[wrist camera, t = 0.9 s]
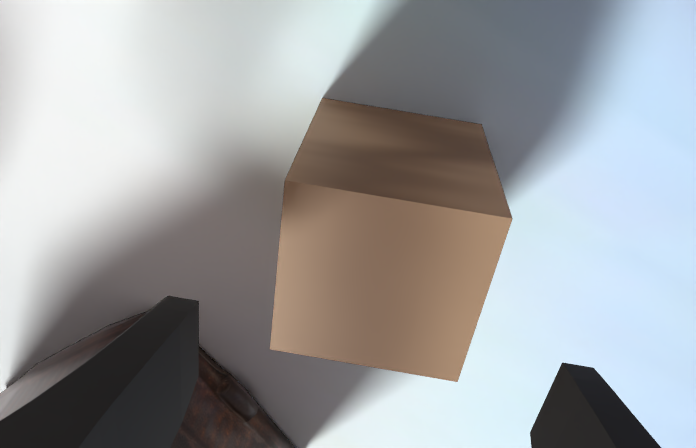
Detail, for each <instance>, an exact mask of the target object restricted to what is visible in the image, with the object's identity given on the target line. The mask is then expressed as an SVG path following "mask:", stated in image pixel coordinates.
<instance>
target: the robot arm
mask: <svg viewBox="0 0 696 448" xmlns="http://www.w3.org/2000/svg"><path fill="white" fill-rule="evenodd" d="M198 376H199V301H196V300H190V299H184V298H178V297H172V296H167V297H166V298H164V299H163V300H161V301H160V302H159V303H158V304H157V305H155V306H154V307H153V308H152V309H151V310H149V311H148V312H147V313H146V314H145V315H143V316H142V317H141V318H140V319H139V320H137V321H136V322H135V323H134V324H133V325H131V326H130V327H129V328H128V329H126V330H125V331H124V332H123V333H121V334H120V335H119V336H118V337H117V338H115V339H114V340H113V341H112V342H110V343H109V344H108V345H106V346H105V347H104V348H102V349H101V350H100V351H99V352H97V353H96V354H95V355H93V356H92V357H91V358H90V359H88V360H87V361H86V362H84V363H83V364H82V365H80V366H79V367H78V368H76V369H75V370H74V371H72V372H71V373H70V374H68V375H67V376H65V377H64V378H62V379H61V380H60V381H58V382H57V383H55V384H54V385H53V386H51V387H50V388H48V389H47V390H45V391H44V392H43V393H41V394H40V395H38V396H37V397H36V398H34V399H33V400H31V401H30V402H28V403H27V404H25V405H24V406H22V407H20V408H19V409H17V410H16V411H14V412H13V413H11V414H10V415H8V416H7V417H5V418H3V419H2V420H0V448H170V447H171V445H172V443H173V441H174V439H175V437H176V435H177V432H178V430H179V428H180V426H181V424H182V421H183V419H184V416H185V413H186V410H187V408H188V405H189V402H190V399H191V396H192V393H193V391H194V388H195V385H196V382H197V379H198ZM530 436H531V446H532V448H661V447H660V446H659V445H658V443H657V442H656V441H655V440H654V439H653V438H652V436H651V435H650V434H649V433H648V432H647V430H646V429H645V428H644V427H643V426H642V424H641V423H640V422H639V421H638V420H637V419H636V417H635V416H634V415H633V414H632V413H631V411H630V410H629V409H628V408H627V407H626V405H625V404H624V403H623V402H622V401H621V399H620V398H619V397H618V396H617V395H616V393H615V392H614V391H613V390H612V389H611V387H610V386H609V385H608V384H607V383H606V382H605V380H604V379H603V378H602V377H601V376H600V375H599V374H598V372H597V371H596V370H595V369H594V368H591V367H585V366H579V365H573V364H568V363H562V364H561V367H560V369H559V371H558V373H557V375H556V377H555V380H554V382H553V384H552V386H551V388H550V390H549V393H548V395H547V397H546V399H545V401H544V403H543V406H542V408H541V410H540V412H539V414H538V417H537V419H536V421H535V423H534V425H533V427H532V430H531V432H530Z"/></svg>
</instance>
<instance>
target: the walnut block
mask: <svg viewBox="0 0 696 448" xmlns="http://www.w3.org/2000/svg"><path fill="white" fill-rule="evenodd" d="M511 221H512V216H511V213H510V210H509V207H508V204H507V201H506V198H505V195H504V191H503V188H502V185H501V182H500V179H499V176H498V173H497V170H496V167H495V164H494V161H493V158H492V155H491V152H490V149H489V146H488V143H487V140H486V136H485V133H484V130H483V127H482V124H476V123H470V122H464V121H458V120H452V119H446V118H440V117H434V116H428V115H422V114H416V113H410V112H404V111H398V110H392V109H386V108H380V107H374V106H368V105H362V104H356V103H350V102H344V101H338V100H332V99H326V98H322V100H321V102H320V104H319V106H318V108H317V111H316V113H315V115H314V117H313V119H312V122H311V124H310V126H309V128H308V130H307V133H306V135H305V137H304V139H303V141H302V144H301V146H300V148H299V150H298V152H297V155H296V157H295V159H294V161H293V163H292V166H291V168H290V170H289V172H288V174H287V177H286V179H285V184H284V195H283V206H282V218H281V229H280V240H279V251H278V263H277V274H276V285H275V296H274V308H273V319H272V330H271V341H270V349H271V350H276V351H282V352H288V353H294V354H300V355H305V356H311V357H317V358H323V359H328V360H334V361H340V362H346V363H351V364H357V365H363V366H369V367H375V368H380V369H386V370H392V371H398V372H403V373H409V374H415V375H421V376H426V377H432V378H438V379H444V380H450V381H455V382H458V379H459V376H460V373H461V370H462V367H463V364H464V361H465V358H466V355H467V352H468V349H469V346H470V343H471V340H472V337H473V334H474V331H475V328H476V325H477V322H478V319H479V316H480V313H481V310H482V307H483V304H484V301H485V299H486V296H487V293H488V290H489V287H490V284H491V281H492V278H493V275H494V272H495V269H496V266H497V263H498V260H499V257H500V254H501V251H502V248H503V245H504V242H505V239H506V236H507V233H508V230H509V227H510V224H511Z"/></svg>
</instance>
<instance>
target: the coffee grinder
mask: <svg viewBox="0 0 696 448" xmlns="http://www.w3.org/2000/svg"><path fill="white" fill-rule="evenodd" d="M146 313H147V312H145V313H142V314H139V315H137V316H134V317H131V318H128V319H126V320H123V321H120V322H117V323H114V324H112V325H109V326H107V327H105V328H103V329H101V330H99V331H97V332H96V333H94V334H92V335H90V336H88V337H86V338H84V339H82V340H80V341H79V342H77V343H75V344H73V345H71V346H69V347H67V348H66V349H64V350H62V351H60V352H58V353H56V354H55V355H53V356H51V357H49V358H47V359H45V360H44V361H42V362H40V363H38V364H37V365H35V366H34V367H33V368H32V369H31V370H29V371H28V372H27V373H26V374H25V375H23V376H22V377H21V378H20V379H19V380H17V381H16V382H15V383H13V384H12V385H11V386H9V387H8V388H7V389H5V390H4V391H3V392H1V393H0V420H2V419H3V418H5V417H7V416H8V415H10V414H11V413H13V412H14V411H16V410H17V409H19V408H20V407H22V406H24V405H25V404H27V403H28V402H30V401H31V400H33V399H34V398H36V397H37V396H38V395H40V394H41V393H43V392H44V391H45V390H47V389H48V388H50V387H51V386H53V385H54V384H55V383H57V382H58V381H60V380H61V379H62V378H64V377H65V376H67V375H68V374H70V373H71V372H72V371H74V370H75V369H76V368H78V367H79V366H80V365H82V364H83V363H84V362H86V361H87V360H88V359H90V358H91V357H92V356H93V355H95V354H96V353H97V352H99V351H100V350H101V349H102V348H104V347H105V346H106V345H108V344H109V343H110V342H112V341H113V340H114V339H115V338H117V337H118V336H119V335H120V334H121V333H123V332H124V331H125V330H126V329H128V328H129V327H130V326H131V325H133V324H134V323H135V322H136V321H137V320H139V319H140V318H141V317H142V316H143V315H145V314H146ZM170 448H295V447H294V446H293V445H292V444H291V443H290V441H289V440H288V439H287V438H286V437H285V436H284V434H283V433H282V432H281V431H280V430H279V429H278V428H277V426H276V425H275V424H274V423H273V422H272V421H271V419H270V418H269V417H268V416H267V415H266V413H265V412H264V411H263V410H262V409H261V407H260V406H259V405H258V404H257V402H256V401H255V400H254V399H253V398H252V396H251V395H250V394H249V393H248V392H247V391H246V389H245V388H244V387H243V386H242V385H241V384H240V383H239V382H238V381H237V380H236V379H235V378H234V377H233V376H232V375H231V374H229V373H228V372H226V371H225V370H223V369H222V368H221V367H220V366H219V365H218V364H217V363H215V362H214V361H213V360H212V359H211V358H210V357H209V356H208V355H207V354H206V353H205V352H204V351H203V350H202V349H201V348H200V347H199V376H198V379H197V382H196V385H195V388H194V391H193V393H192V396H191V399H190V402H189V405H188V408H187V410H186V413H185V416H184V419H183V421H182V424H181V426H180V428H179V430H178V432H177V435H176V437H175V439H174V441H173V443H172V445H171V447H170Z"/></svg>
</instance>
